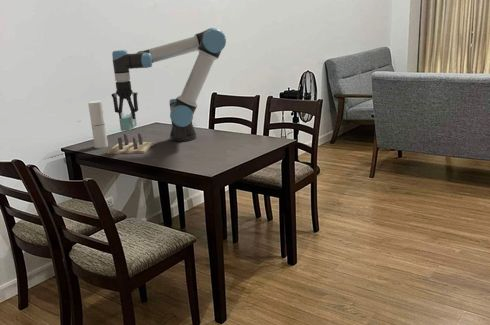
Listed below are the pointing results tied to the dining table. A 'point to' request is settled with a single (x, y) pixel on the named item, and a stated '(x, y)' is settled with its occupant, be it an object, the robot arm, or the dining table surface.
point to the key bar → (126, 123)
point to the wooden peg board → (130, 146)
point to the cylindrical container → (98, 124)
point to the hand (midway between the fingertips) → (128, 125)
